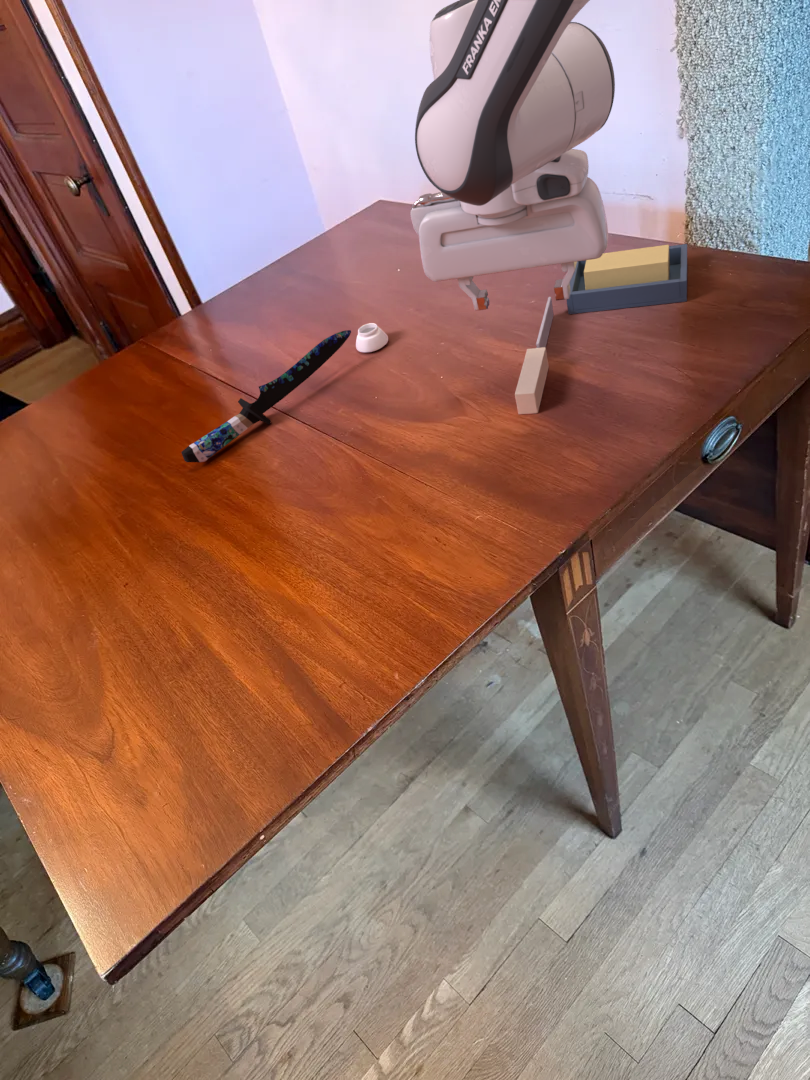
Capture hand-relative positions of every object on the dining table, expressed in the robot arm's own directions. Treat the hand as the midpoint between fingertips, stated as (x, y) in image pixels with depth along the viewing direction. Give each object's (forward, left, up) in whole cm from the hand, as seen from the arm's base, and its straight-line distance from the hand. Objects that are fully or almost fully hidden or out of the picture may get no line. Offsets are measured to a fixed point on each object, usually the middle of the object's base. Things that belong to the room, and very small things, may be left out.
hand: (522, 302), depth 86 cm
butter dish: (-10, -23, -12) cm, 28 cm away
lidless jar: (+27, -15, -12) cm, 33 cm away
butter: (-10, -23, -12) cm, 28 cm away
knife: (+36, 0, -12) cm, 38 cm away
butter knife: (0, -6, -12) cm, 14 cm away
